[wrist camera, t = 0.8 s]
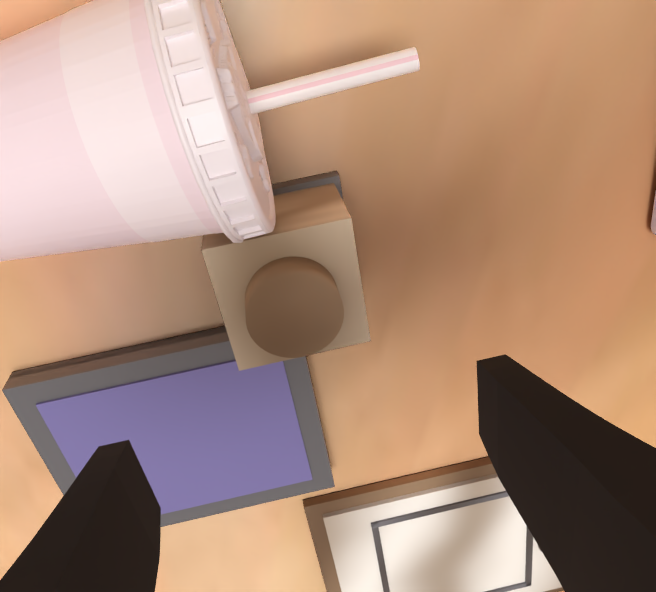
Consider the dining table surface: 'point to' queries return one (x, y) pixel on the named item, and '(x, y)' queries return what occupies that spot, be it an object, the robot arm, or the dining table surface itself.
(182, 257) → the dining table surface
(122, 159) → the smoothie
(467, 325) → the dining table surface
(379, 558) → the clipboard
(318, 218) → the stamp
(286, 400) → the ink tray
